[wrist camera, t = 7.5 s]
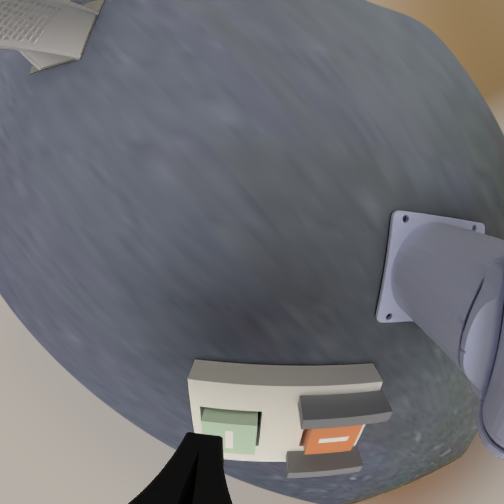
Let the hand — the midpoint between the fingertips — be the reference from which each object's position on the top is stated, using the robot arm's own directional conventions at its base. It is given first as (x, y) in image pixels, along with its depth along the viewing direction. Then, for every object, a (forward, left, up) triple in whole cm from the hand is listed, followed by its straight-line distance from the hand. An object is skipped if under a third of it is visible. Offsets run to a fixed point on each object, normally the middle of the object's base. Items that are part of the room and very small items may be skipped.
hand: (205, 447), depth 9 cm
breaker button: (-8, +8, -10) cm, 15 cm away
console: (-4, +8, -10) cm, 14 cm away
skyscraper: (+16, -24, -11) cm, 31 cm away
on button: (0, +8, -10) cm, 13 cm away
